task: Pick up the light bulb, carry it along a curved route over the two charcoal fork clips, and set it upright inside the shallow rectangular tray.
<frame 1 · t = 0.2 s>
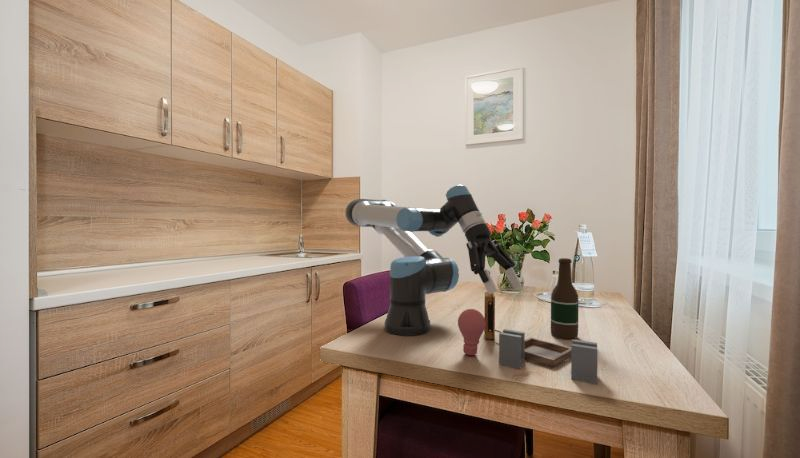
hand: (506, 290, 101), 15 cm above the table, tool tilted 35°, fingers open, 13 cm apart
light bulb: (471, 355, 92), on the table
clip 2: (584, 377, 78), on the table
beer bottle: (564, 336, 108), on the table
shallow rectangular tray: (541, 354, 92), on the table
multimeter: (501, 338, 106), on the table
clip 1: (511, 363, 86), on the table
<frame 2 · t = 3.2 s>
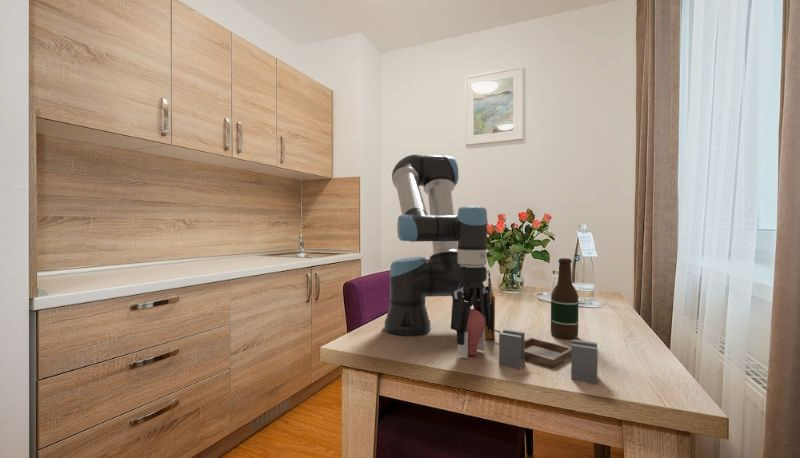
hand: (471, 352, 92), 1 cm above the table, tool pointing down, fingers closed on light bulb, 7 cm apart
light bulb: (471, 355, 92), on the table, touching gripper
everything else where it was.
when the fingers open (2 cm above the table, at t = 10.1 s): light bulb drops 1 cm, resting on shallow rectangular tray.
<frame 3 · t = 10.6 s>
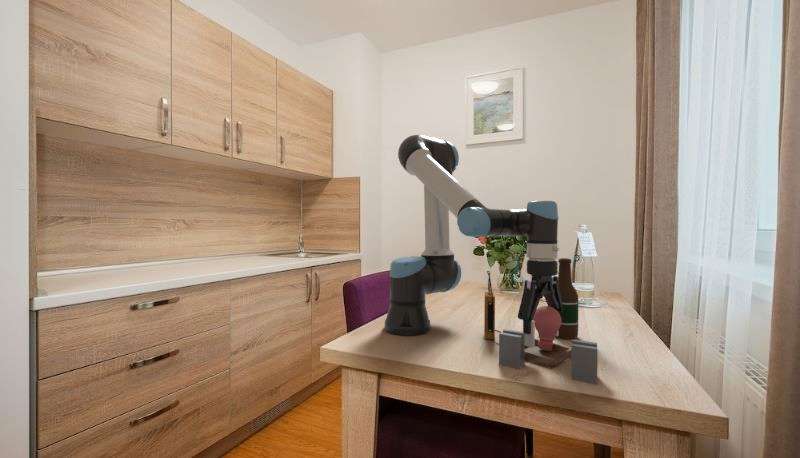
hand: (541, 340, 92), 4 cm above the table, tool pointing down, fingers open, 13 cm apart
light bulb: (546, 351, 94), resting on shallow rectangular tray, touching gripper
everything else where it was.
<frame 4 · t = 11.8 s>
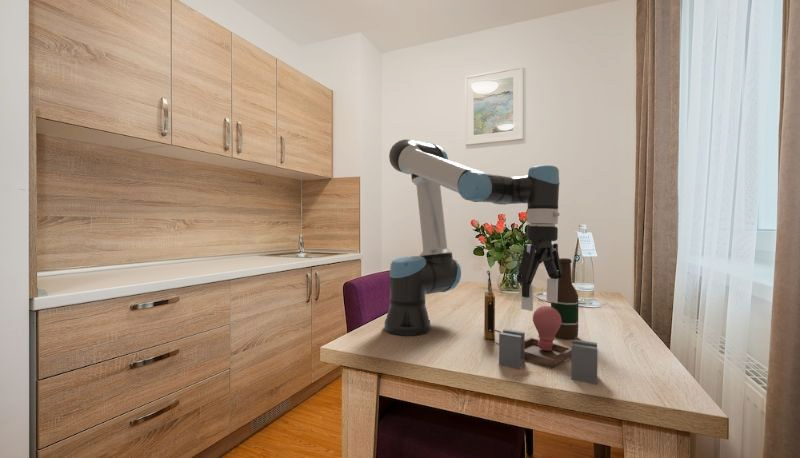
hand: (540, 305, 92), 13 cm above the table, tool pointing down, fingers open, 13 cm apart
light bulb: (546, 351, 94), resting on shallow rectangular tray
everything else where it was.
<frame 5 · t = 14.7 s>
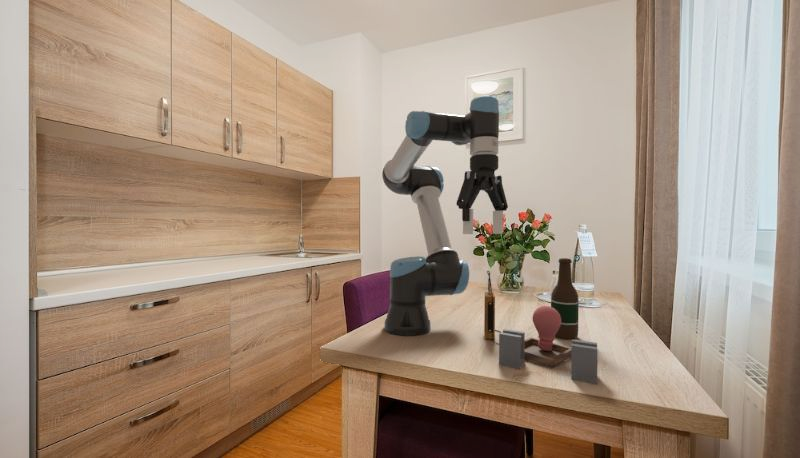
hand: (483, 234, 95), 32 cm above the table, tool pointing down, fingers open, 13 cm apart
nothing on the table moved.
at the end: light bulb inside the target area on the shallow rectangular tray (3.0 cm from its centre), point 0.2 cm above the shallow rectangular tray's base; light bulb tilted 0°; the gripper is holding nothing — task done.
